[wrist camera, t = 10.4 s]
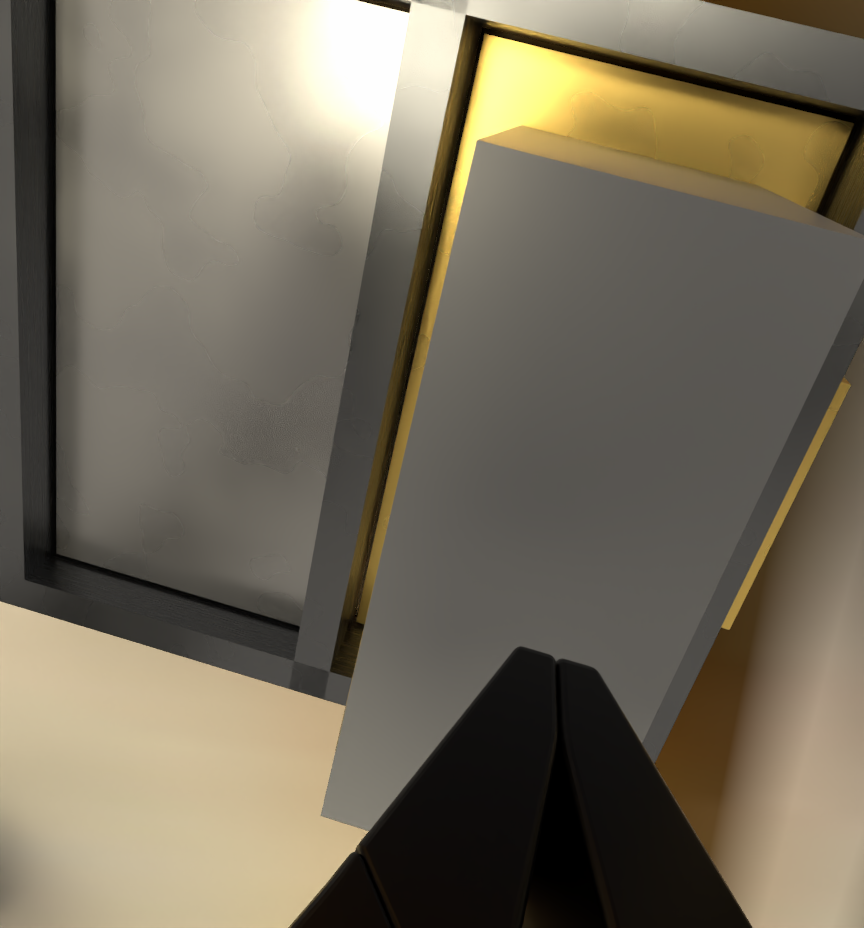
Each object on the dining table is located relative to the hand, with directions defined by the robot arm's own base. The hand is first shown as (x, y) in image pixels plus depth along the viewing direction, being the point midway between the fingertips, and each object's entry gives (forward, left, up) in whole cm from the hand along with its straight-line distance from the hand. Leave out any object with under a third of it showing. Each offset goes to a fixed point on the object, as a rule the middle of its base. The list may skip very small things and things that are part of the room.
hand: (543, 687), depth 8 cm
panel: (0, 0, -8) cm, 8 cm away
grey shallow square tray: (0, +4, -8) cm, 9 cm away
